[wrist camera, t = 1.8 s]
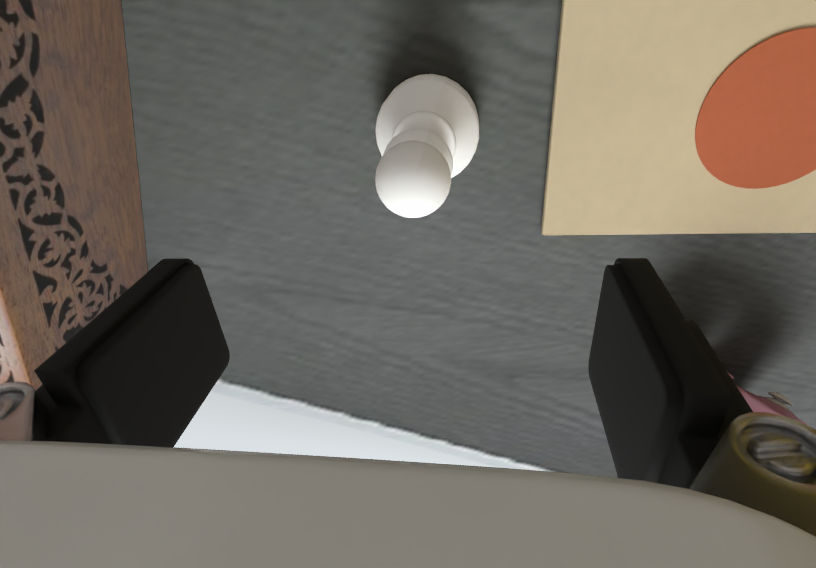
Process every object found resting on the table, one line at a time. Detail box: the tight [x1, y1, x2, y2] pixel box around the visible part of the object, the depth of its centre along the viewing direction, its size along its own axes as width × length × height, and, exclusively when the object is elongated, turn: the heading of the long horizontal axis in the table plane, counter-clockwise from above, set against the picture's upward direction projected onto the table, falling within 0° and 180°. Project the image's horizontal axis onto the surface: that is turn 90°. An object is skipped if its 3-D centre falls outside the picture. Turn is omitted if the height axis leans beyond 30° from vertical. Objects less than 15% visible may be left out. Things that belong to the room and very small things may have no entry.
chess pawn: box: [375, 74, 479, 218], centre depth 20 cm, size 5×5×9 cm
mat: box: [541, 0, 816, 235], centre depth 22 cm, size 12×20×1 cm, turn 94°
